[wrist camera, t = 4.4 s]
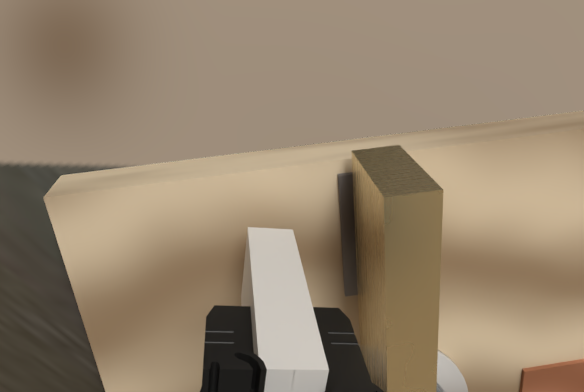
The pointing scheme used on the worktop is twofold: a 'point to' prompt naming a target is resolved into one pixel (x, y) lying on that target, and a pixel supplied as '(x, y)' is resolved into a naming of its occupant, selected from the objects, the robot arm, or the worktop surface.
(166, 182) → the lock base
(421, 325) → the measuring cup
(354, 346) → the robot arm
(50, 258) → the worktop surface
